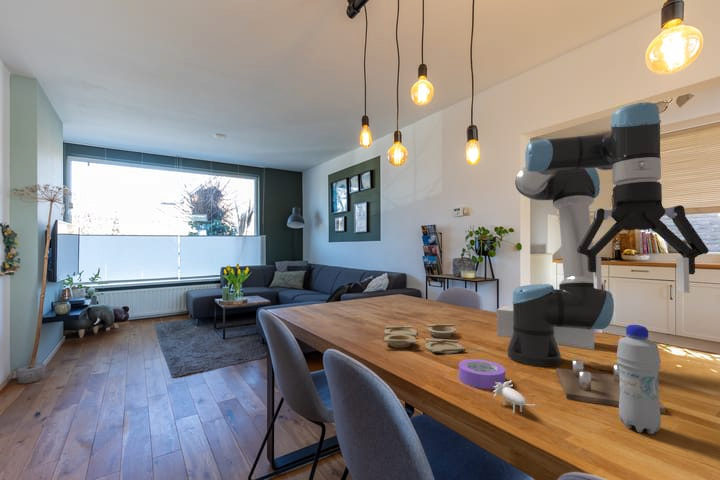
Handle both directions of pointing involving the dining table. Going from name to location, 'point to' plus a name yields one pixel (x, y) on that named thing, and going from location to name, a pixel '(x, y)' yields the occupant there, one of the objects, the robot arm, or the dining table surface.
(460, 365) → the masking tape
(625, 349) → the bottle
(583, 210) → the robot arm
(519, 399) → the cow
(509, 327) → the grey rectangular block
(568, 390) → the peg base
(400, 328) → the tableware set
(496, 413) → the dining table surface
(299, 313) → the dining table surface
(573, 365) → the pegs
